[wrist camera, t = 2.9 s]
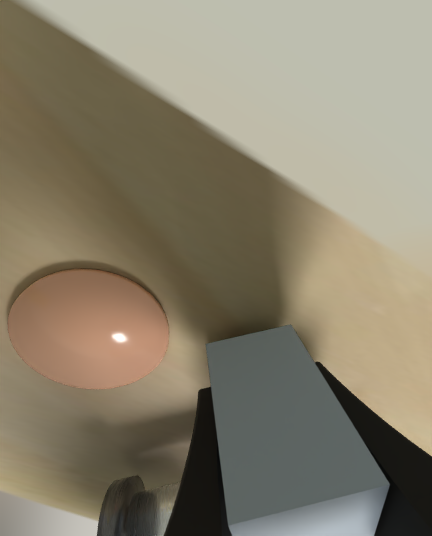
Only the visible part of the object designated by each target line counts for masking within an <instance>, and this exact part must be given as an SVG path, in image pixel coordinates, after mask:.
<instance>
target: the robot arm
mask: <svg viewBox="0 0 432 536" xmlns="http://www.w3.org/2000/svg"><path fill="white" fill-rule="evenodd" d="M315 364H316V366H317V367H318V369H319V371H320V372H321V374H322V375H323V377H324V379H325V380H326V382H327V384H328V385H329V387H330V388H331V390H332V392H333V393H334V395H335V396H336V398H337V400H338V401H339V403H340V405H341V406H342V408H343V409H344V411H345V413H346V414H347V416H348V417H349V419H350V421H351V422H352V424H353V426H354V427H355V429H356V430H357V432H358V434H359V435H360V437H361V438H362V440H363V442H364V443H365V445H366V447H367V448H368V450H369V451H370V453H371V455H372V456H373V458H374V459H375V461H376V463H377V464H378V466H379V468H380V469H381V471H382V472H383V474H384V476H385V477H386V479H387V480H388V482H389V484H390V486H389V489H388V492H387V496H386V499H385V502H384V505H383V508H382V512H381V515H380V518H379V521H378V524H377V528H376V531H375V534H374V536H432V456H430V455H429V454H428V453H426V452H425V451H423V450H422V449H421V448H419V447H418V446H417V445H415V444H414V443H412V442H411V441H410V440H408V439H407V438H406V437H404V436H403V435H402V434H401V433H399V432H398V431H397V430H395V429H394V428H393V427H392V426H390V425H389V424H388V423H387V422H385V421H384V420H383V419H382V418H380V417H379V416H378V415H377V414H376V413H374V412H373V411H372V410H371V409H370V408H368V407H367V406H366V405H365V404H364V403H363V402H362V401H360V400H359V399H358V398H357V397H356V396H355V395H354V394H352V393H351V392H350V391H349V390H348V389H347V388H346V387H345V386H344V385H343V384H342V383H341V382H339V381H338V380H337V379H336V378H335V377H334V376H333V375H332V374H331V373H330V372H329V371H328V370H327V369H326V368H325V367H324V366H323V365H322V364H321V363H320V362H315ZM164 536H232V534H231V532H230V529H229V526H228V520H227V512H226V504H225V495H224V487H223V479H222V471H221V463H220V455H219V447H218V439H217V431H216V423H215V415H214V407H213V399H212V391H211V387H208V388H204V389H200V390H199V392H198V403H197V411H196V418H195V424H194V429H193V434H192V439H191V443H190V448H189V452H188V456H187V460H186V464H185V468H184V472H183V476H182V480H181V483H180V487H179V490H178V493H177V497H176V500H175V503H174V506H173V509H172V513H171V516H170V519H169V522H168V524H167V527H166V530H165V533H164Z"/></svg>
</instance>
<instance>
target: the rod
mask: <svg viewBox="0 0 432 536" xmlns="http://www.w3.org/2000/svg"><path fill="white" fill-rule="evenodd" d="M180 483H181V482H178V483H174V484H170V485H166V486H162V487H158V488H153V489H149V490H145V488H144V485H143V482H142V480H141V478H140V477H139V476H137V475H136V476H132V477H128V478H124V479H120V480H116V481H114V482H113V483H112V484H111V485H110V487H109V488H108V490H107V493H106V495H105V498H104V501H103V504H102V508H101V512H100V517H99V523H98V532H97V536H164V533H165V530H166V527H167V524H168V522H169V519H170V516H171V513H172V509H173V506H174V503H175V500H176V497H177V493H178V490H179V487H180Z"/></svg>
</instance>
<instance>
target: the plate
mask: <svg viewBox="0 0 432 536" xmlns="http://www.w3.org/2000/svg"><path fill="white" fill-rule="evenodd" d="M8 333H9V337H10V340H11V342H12V345H13V347H14V349H15V350H16V352H17V353H18V355H19V356H20V357H21V358H22V359H23V360H24V362H25V363H27V364H28V365H29V366H30V367H31V368H32V369H34V370H35V371H37V372H38V373H40V374H41V375H43V376H45V377H47V378H49V379H51V380H53V381H56V382H58V383H61V384H64V385H68V386H72V387H77V388H84V389H108V388H115V387H120V386H124V385H127V384H130V383H133V382H135V381H137V380H139V379H141V378H143V377H144V376H146V375H147V374H149V373H150V372H151V371H152V370H154V369H155V368H156V367H157V365H158V364H159V363H160V362H161V360H162V359H163V357H164V355H165V353H166V351H167V347H168V341H169V325H168V321H167V317H166V315H165V313H164V311H163V309H162V307H161V306H160V304H159V303H158V302H157V300H156V299H155V298H154V297H153V296H152V295H151V294H150V293H149V292H148V291H147V290H145V289H144V288H143V287H141V286H140V285H138V284H137V283H135V282H133V281H131V280H129V279H127V278H125V277H122V276H120V275H117V274H114V273H110V272H107V271H101V270H95V269H71V270H64V271H59V272H56V273H52V274H50V275H47V276H45V277H42V278H41V279H39V280H37V281H36V282H34V283H32V284H31V285H30V286H29V287H28V288H27V289H25V290H24V291H23V292H22V293H21V294H20V295H19V297H18V298H17V299H16V300H15V302H14V304H13V305H12V307H11V310H10V313H9V316H8Z"/></svg>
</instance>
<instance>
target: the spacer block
mask: <svg viewBox="0 0 432 536" xmlns="http://www.w3.org/2000/svg"><path fill="white" fill-rule="evenodd" d="M206 350H207V358H208V366H209V375H210V383H211V391H212V399H213V407H214V415H215V423H216V431H217V439H218V447H219V455H220V463H221V471H222V479H223V487H224V495H225V504H226V512H227V520H228V526H229V529H230V532H231V534H232V536H374V534H375V531H376V528H377V524H378V521H379V518H380V515H381V512H382V508H383V505H384V502H385V499H386V496H387V492H388V489H389V486H390V484H389V482H388V480H387V479H386V477H385V476H384V474H383V472H382V471H381V469H380V468H379V466H378V464H377V463H376V461H375V459H374V458H373V456H372V455H371V453H370V451H369V450H368V448H367V447H366V445H365V443H364V442H363V440H362V438H361V437H360V435H359V434H358V432H357V430H356V429H355V427H354V426H353V424H352V422H351V421H350V419H349V417H348V416H347V414H346V413H345V411H344V409H343V408H342V406H341V405H340V403H339V401H338V400H337V398H336V396H335V395H334V393H333V392H332V390H331V388H330V387H329V385H328V384H327V382H326V380H325V379H324V377H323V375H322V374H321V372H320V371H319V369H318V367H317V366H316V364H315V362H314V361H313V359H312V358H311V356H310V354H309V353H308V351H307V350H306V348H305V346H304V345H303V343H302V341H301V340H300V338H299V337H298V335H297V333H296V332H295V330H294V329H293V327H292V325H286V326H282V327H278V328H273V329H269V330H264V331H260V332H256V333H251V334H247V335H243V336H238V337H234V338H229V339H225V340H221V341H216V342H212V343H207V344H206Z"/></svg>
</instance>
